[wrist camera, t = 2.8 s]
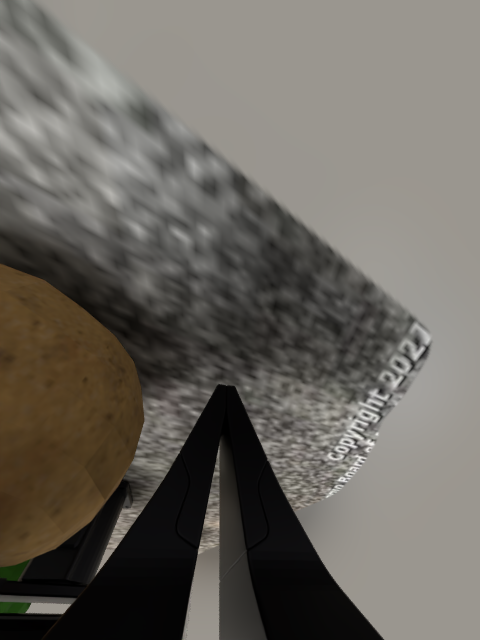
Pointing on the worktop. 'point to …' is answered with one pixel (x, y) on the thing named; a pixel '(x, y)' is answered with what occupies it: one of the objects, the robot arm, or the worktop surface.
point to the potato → (58, 416)
